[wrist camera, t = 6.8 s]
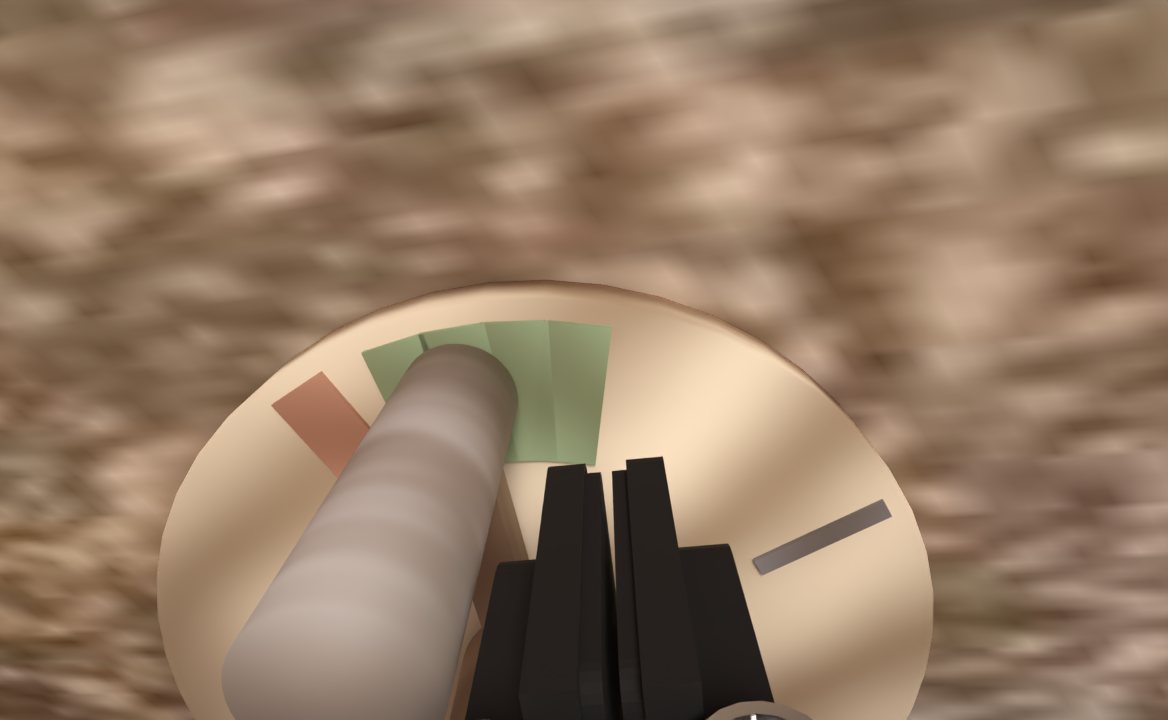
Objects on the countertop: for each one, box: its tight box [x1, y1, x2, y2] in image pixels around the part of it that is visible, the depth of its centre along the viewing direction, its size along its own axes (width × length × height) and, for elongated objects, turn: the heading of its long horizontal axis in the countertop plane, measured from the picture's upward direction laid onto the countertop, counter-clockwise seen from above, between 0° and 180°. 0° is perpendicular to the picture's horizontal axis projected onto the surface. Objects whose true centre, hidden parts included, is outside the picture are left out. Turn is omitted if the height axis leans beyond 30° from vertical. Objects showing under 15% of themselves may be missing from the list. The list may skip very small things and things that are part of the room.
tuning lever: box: [221, 344, 529, 720], centre depth 14 cm, size 12×4×8 cm, turn 11°
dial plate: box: [157, 280, 933, 720], centre depth 20 cm, size 21×21×2 cm
